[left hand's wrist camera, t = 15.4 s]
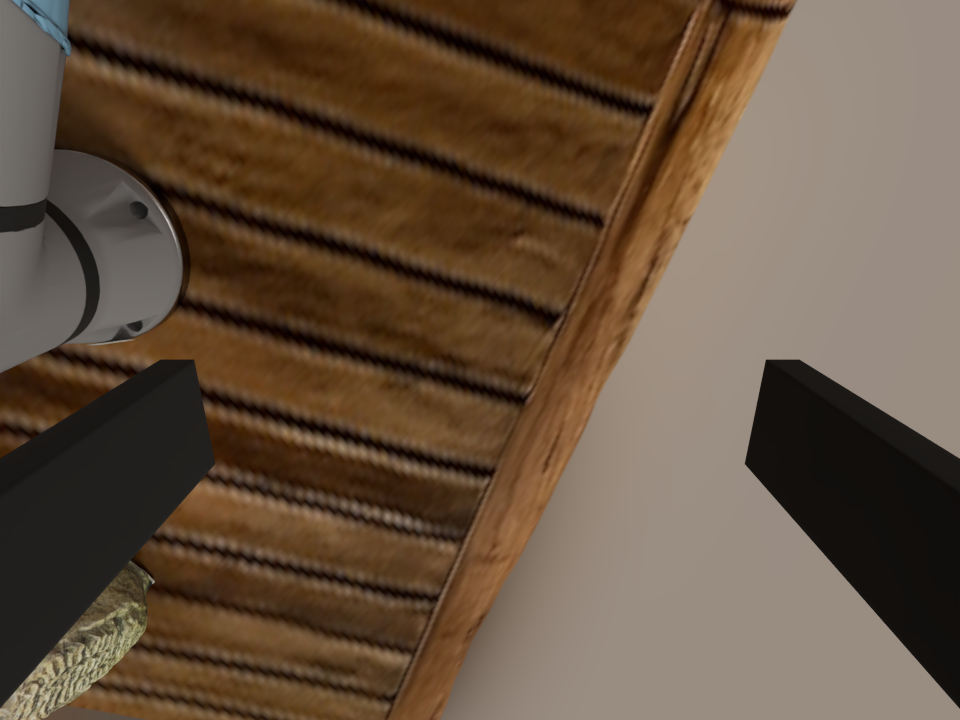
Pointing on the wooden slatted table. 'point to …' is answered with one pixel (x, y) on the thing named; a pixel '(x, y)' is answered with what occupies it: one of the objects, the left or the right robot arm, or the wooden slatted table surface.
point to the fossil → (85, 648)
